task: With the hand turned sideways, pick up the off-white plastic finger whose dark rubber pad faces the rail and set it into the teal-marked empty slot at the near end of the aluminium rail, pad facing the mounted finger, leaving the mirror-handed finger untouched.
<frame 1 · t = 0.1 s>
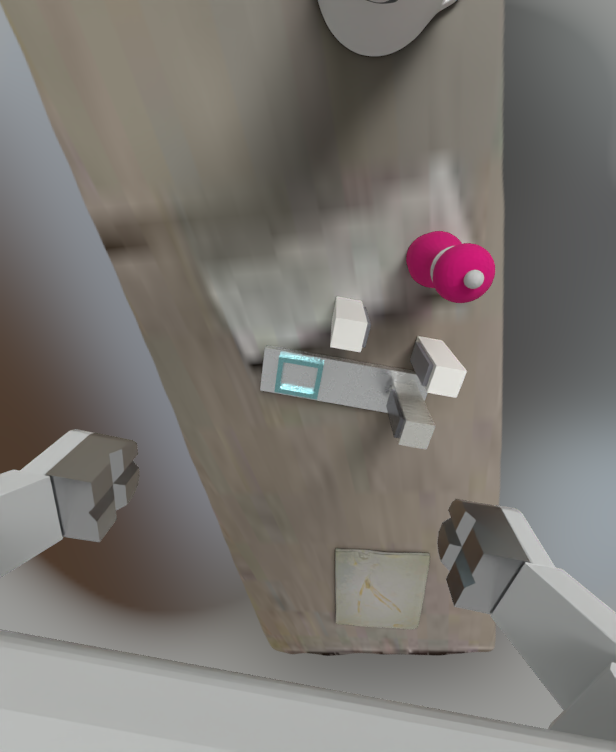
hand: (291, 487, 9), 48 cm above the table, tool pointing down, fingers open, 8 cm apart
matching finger: (346, 310, 55), on the table
decorative slab: (378, 585, 84), on the table
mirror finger: (426, 349, 57), on the table
pepper mill: (427, 256, 51), on the table
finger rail: (343, 380, 61), on the table
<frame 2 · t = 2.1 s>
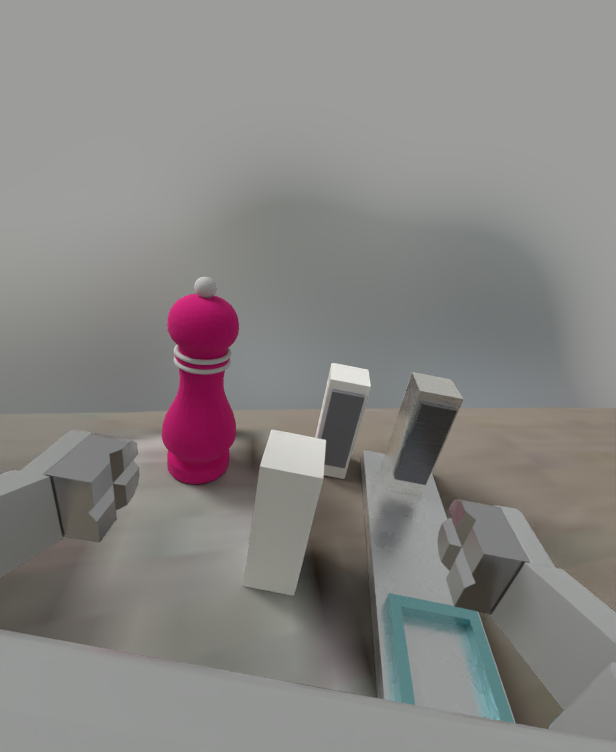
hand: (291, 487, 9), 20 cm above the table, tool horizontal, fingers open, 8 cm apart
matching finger: (273, 567, 29), on the table
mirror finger: (327, 464, 41), on the table
pepper mill: (198, 465, 38), on the table
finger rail: (412, 572, 30), on the table
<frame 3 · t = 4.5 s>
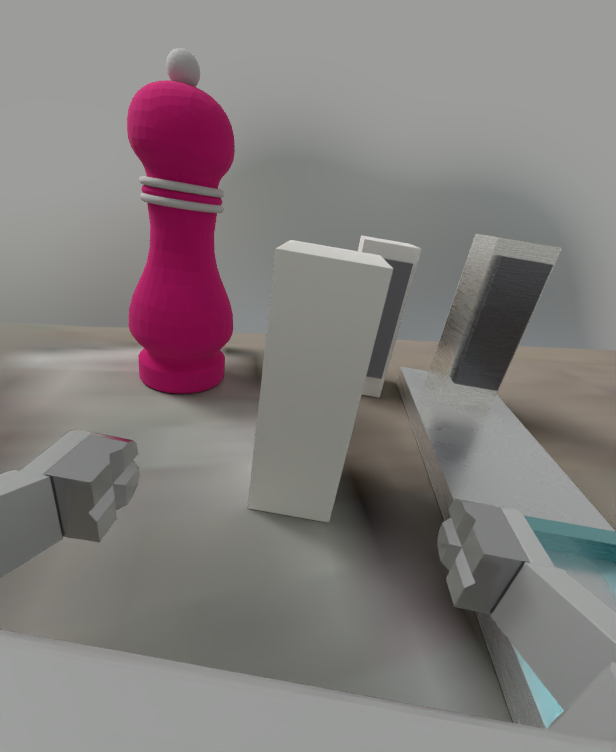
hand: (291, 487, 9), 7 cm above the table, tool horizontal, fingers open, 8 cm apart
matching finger: (293, 486, 19), on the table
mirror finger: (355, 383, 31), on the table
pepper mill: (183, 377, 28), on the table
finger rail: (499, 497, 20), on the table
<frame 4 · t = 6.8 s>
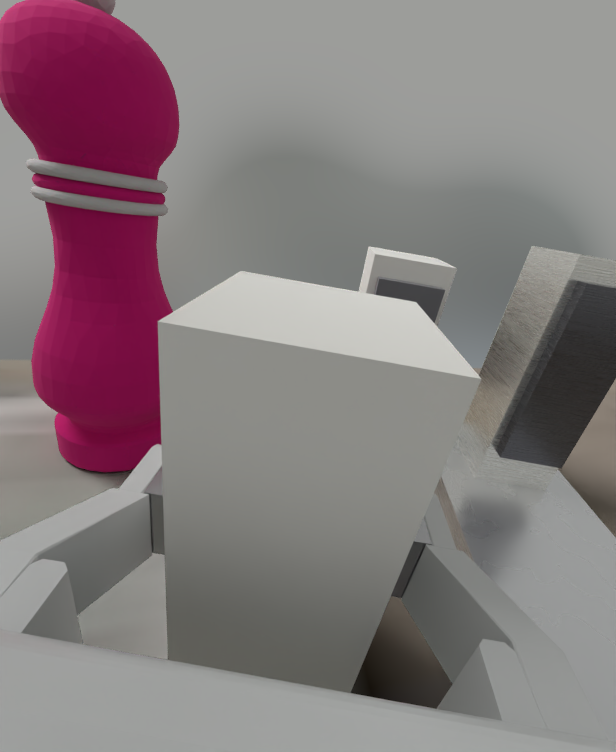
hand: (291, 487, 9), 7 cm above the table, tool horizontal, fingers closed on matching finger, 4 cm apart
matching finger: (258, 672, 11), on the table, touching gripper
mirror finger: (359, 438, 24), on the table
pepper mill: (125, 439, 20), on the table
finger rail: (588, 666, 13), on the table
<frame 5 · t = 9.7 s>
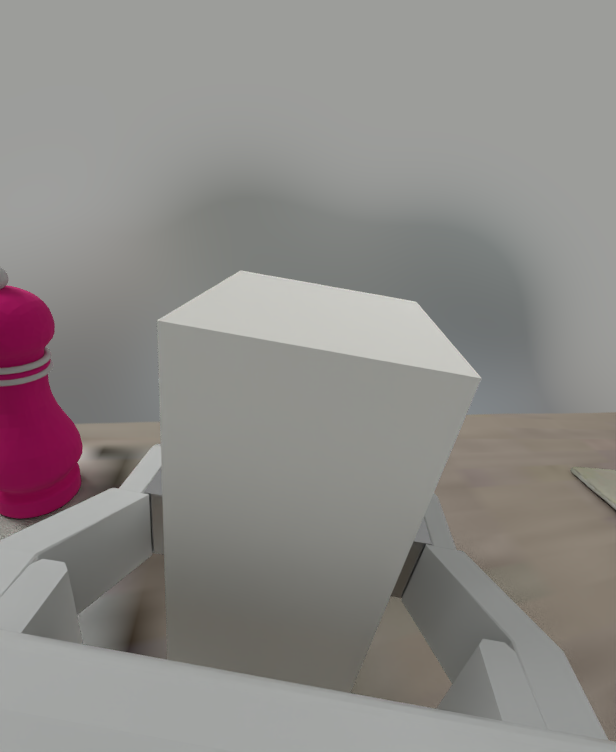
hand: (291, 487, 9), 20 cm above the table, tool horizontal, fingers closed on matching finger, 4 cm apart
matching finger: (258, 672, 11), point 13 cm above the table, touching gripper
pepper mill: (40, 492, 32), on the table
when the fingers open (9 cm above the table, at t = 12.7 s): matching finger stays where it is, resting on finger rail.
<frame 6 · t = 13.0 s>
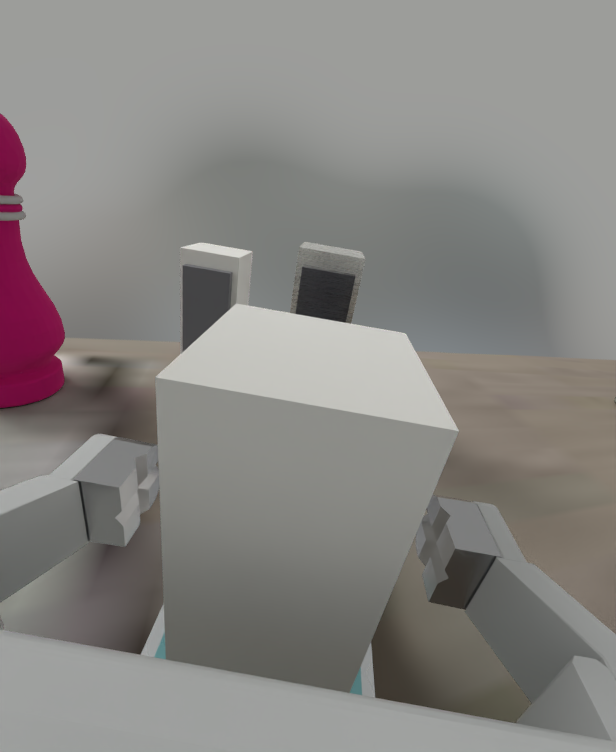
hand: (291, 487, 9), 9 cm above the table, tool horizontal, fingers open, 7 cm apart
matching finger: (255, 684, 12), point 1 cm above the table, touching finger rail
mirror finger: (212, 394, 30), on the table
pepper mill: (16, 389, 27), on the table
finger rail: (284, 521, 19), on the table
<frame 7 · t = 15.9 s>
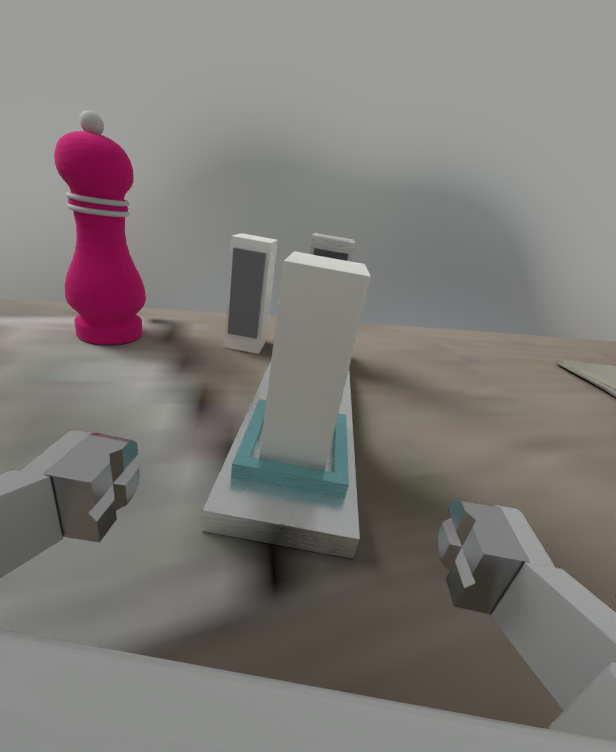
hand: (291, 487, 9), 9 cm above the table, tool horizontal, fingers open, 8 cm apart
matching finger: (294, 450, 23), point 1 cm above the table, touching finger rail
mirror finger: (246, 344, 42), on the table
pepper mill: (110, 335, 38), on the table
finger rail: (302, 407, 31), on the table
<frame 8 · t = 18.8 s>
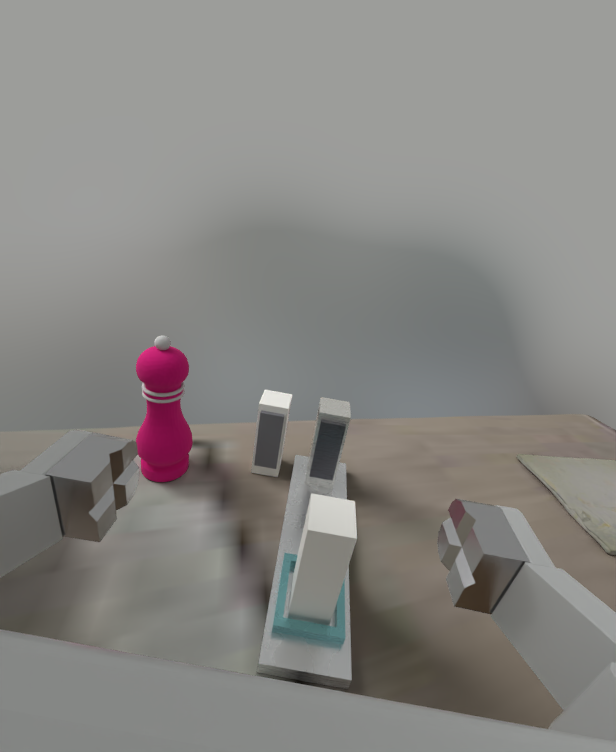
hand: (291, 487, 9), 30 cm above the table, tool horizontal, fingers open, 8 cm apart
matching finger: (310, 600, 35), point 1 cm above the table, touching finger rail
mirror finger: (266, 466, 54), on the table
pepper mill: (165, 468, 50), on the table
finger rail: (313, 542, 43), on the table
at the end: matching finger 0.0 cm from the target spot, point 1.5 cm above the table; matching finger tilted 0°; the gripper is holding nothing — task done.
